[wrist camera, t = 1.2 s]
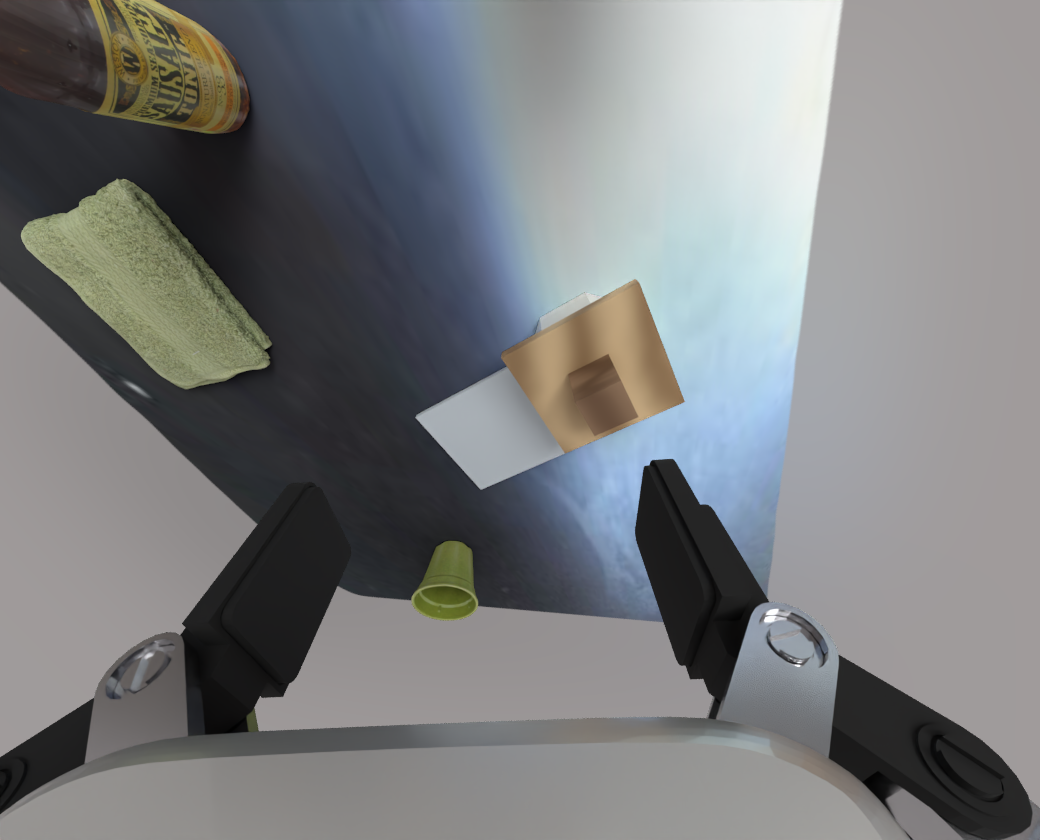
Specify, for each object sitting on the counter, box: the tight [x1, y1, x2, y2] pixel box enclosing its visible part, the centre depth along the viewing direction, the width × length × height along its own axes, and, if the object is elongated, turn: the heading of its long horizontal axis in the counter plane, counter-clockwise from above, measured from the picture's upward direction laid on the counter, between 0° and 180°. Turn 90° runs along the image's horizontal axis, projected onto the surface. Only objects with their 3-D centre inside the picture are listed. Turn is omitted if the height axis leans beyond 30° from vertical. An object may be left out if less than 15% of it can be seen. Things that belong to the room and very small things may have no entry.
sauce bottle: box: [0, 0, 250, 134], centre depth 19 cm, size 7×6×20 cm
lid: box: [501, 279, 685, 453], centre depth 33 cm, size 13×13×6 cm
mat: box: [415, 367, 565, 490], centre depth 45 cm, size 14×14×1 cm
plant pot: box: [412, 541, 478, 620], centre depth 56 cm, size 9×9×9 cm
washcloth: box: [21, 179, 272, 389], centre depth 35 cm, size 13×18×3 cm
